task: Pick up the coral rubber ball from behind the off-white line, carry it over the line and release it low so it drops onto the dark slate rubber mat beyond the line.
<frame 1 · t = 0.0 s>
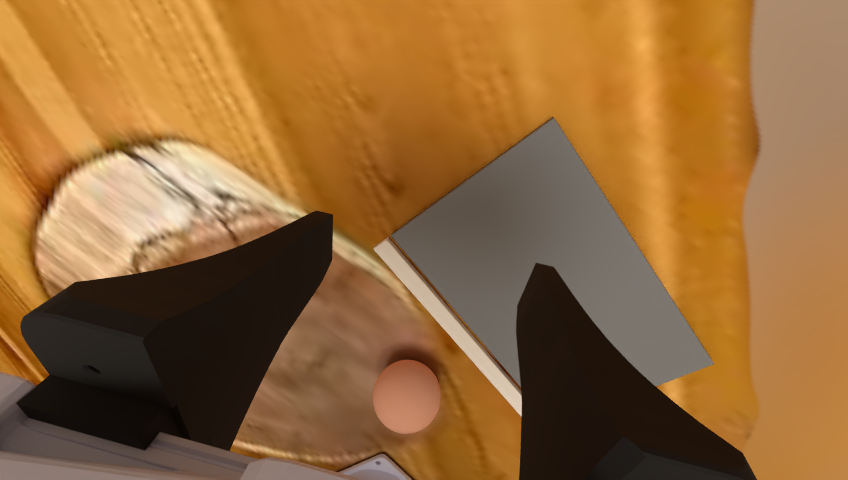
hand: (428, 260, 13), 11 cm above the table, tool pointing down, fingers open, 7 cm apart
ball: (406, 395, 27), point 2 cm above the table
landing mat: (539, 304, 25), on the table
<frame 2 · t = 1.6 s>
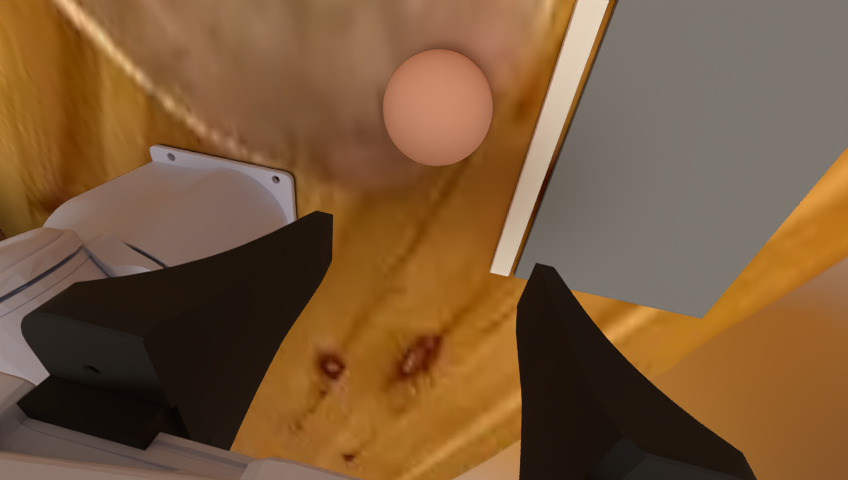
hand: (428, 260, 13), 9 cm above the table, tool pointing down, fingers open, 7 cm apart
ball: (437, 110, 17), point 2 cm above the table
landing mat: (670, 142, 18), on the table
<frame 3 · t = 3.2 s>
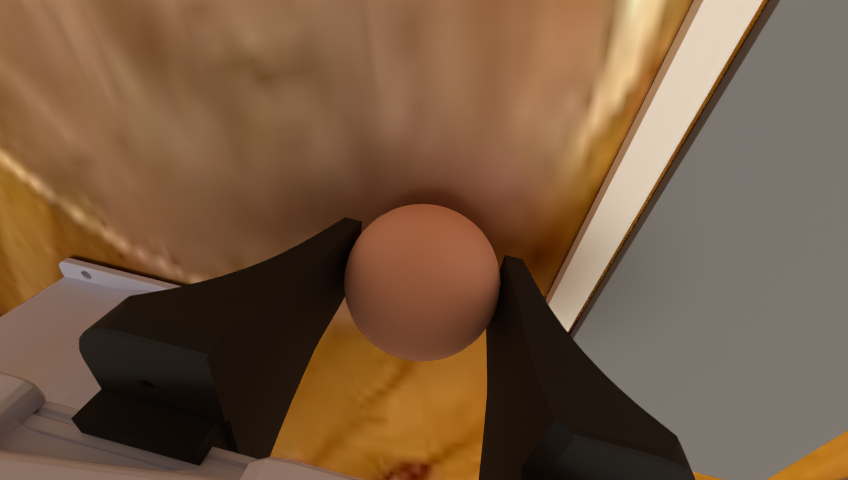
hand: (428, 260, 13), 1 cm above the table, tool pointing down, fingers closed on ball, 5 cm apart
ball: (422, 280, 12), point 2 cm above the table, touching gripper
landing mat: (738, 311, 13), on the table
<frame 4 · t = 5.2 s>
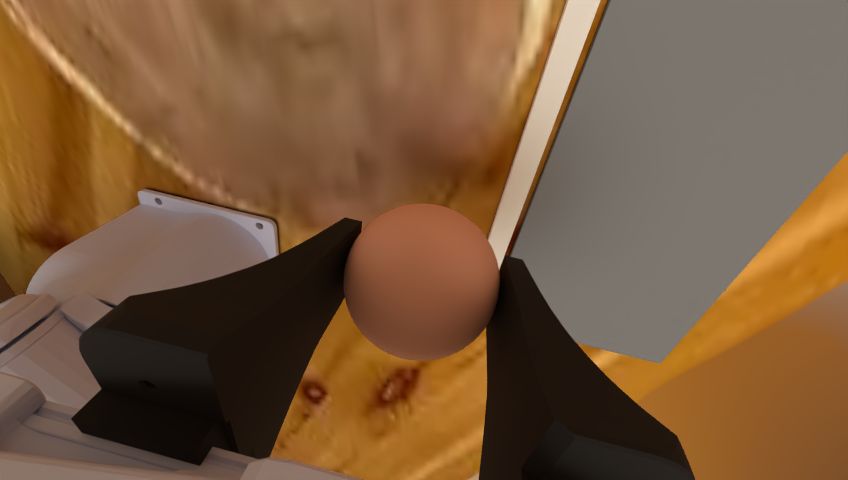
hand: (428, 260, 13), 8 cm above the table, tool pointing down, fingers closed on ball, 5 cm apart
ball: (421, 280, 12), point 10 cm above the table, touching gripper
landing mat: (627, 210, 19), on the table
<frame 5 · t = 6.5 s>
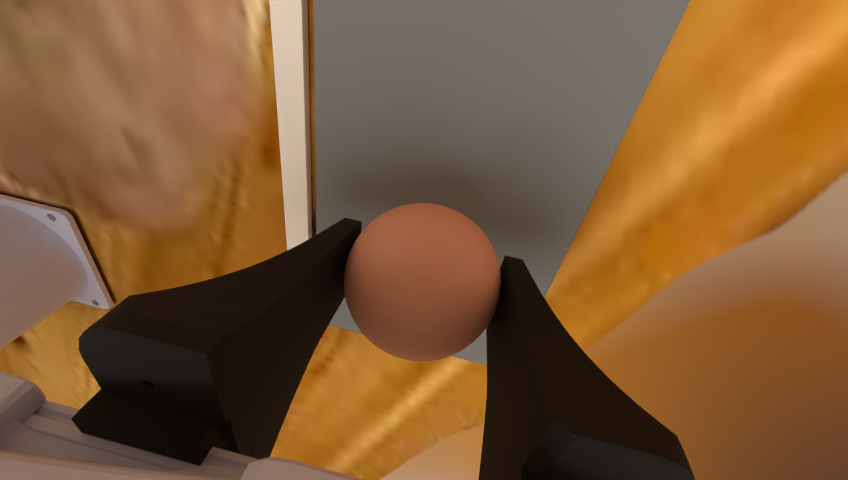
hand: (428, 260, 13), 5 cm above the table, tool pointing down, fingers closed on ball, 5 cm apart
ball: (422, 280, 12), point 6 cm above the table, touching gripper
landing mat: (422, 195, 17), on the table
when the fingers open (3 cm above the table, at t = 7.3 s): ball drops 2 cm, resting on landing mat.
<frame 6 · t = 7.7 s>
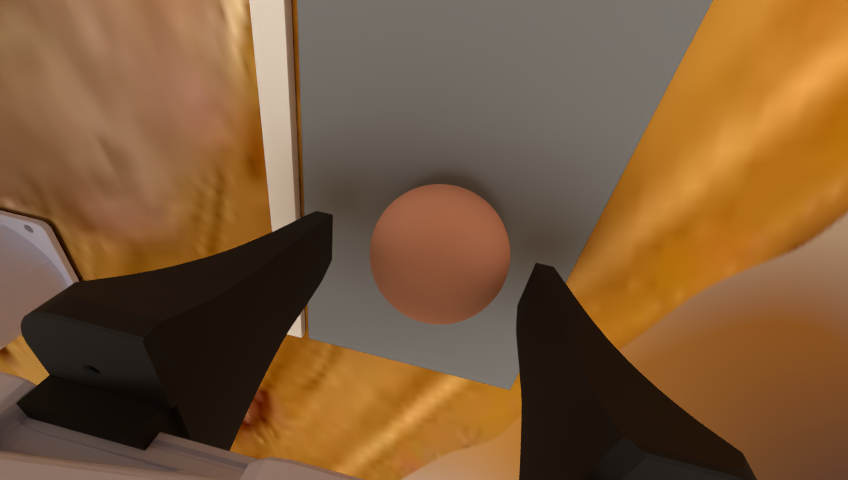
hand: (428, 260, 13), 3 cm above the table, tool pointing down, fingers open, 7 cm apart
ball: (439, 253, 13), point 3 cm above the table, tilted 9°, touching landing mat
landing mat: (418, 208, 15), on the table
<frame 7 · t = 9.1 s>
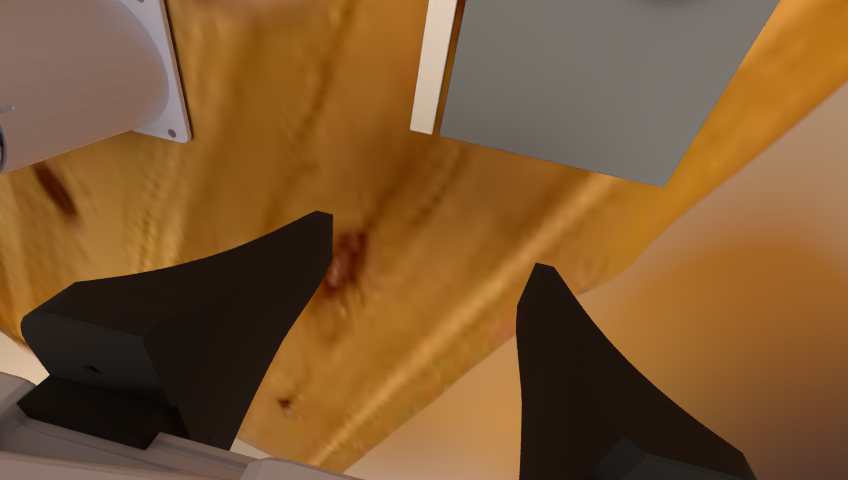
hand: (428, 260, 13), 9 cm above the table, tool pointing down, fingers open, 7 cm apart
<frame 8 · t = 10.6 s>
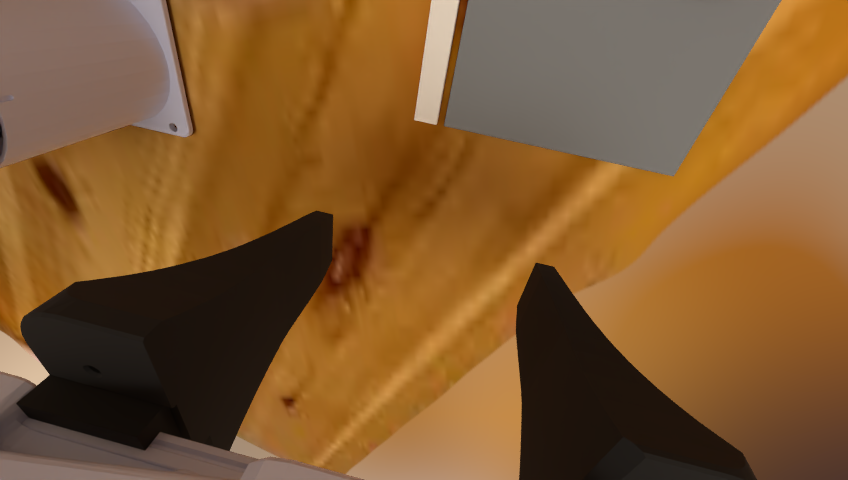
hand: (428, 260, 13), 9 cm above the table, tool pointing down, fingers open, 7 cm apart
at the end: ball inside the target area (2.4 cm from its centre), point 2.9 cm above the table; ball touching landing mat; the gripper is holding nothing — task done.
